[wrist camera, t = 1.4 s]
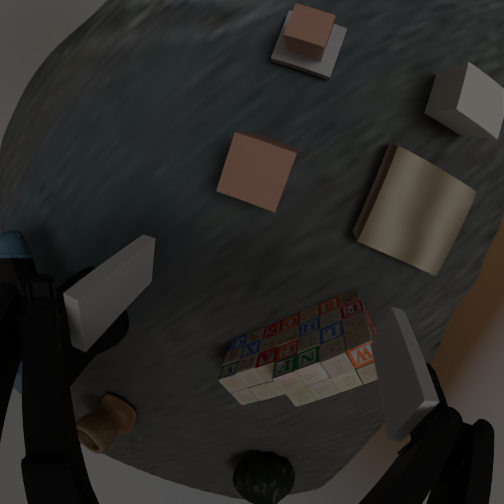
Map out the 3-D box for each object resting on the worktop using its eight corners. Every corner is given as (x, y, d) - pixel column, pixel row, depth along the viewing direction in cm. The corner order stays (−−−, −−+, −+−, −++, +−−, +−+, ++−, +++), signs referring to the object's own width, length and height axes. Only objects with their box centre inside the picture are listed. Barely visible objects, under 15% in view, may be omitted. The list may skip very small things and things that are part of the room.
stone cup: (101, 381, 60) (69, 424, 46) (143, 408, 60) (116, 454, 47) (95, 405, 66) (69, 442, 52) (131, 428, 66) (109, 468, 53)
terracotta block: (237, 177, 37) (216, 191, 29) (252, 132, 34) (234, 132, 26) (282, 194, 37) (274, 212, 28) (298, 149, 34) (296, 153, 26)
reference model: (272, 61, 30) (263, 43, 23) (290, 16, 27) (285, -11, 20) (328, 80, 30) (334, 65, 23) (345, 34, 27) (354, 10, 20)
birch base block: (352, 230, 37) (357, 241, 33) (388, 144, 32) (398, 145, 28) (425, 263, 36) (435, 276, 33) (462, 185, 31) (476, 191, 28)
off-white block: (424, 113, 29) (456, 109, 21) (436, 74, 27) (468, 61, 18) (460, 135, 29) (497, 139, 21) (471, 97, 26) (509, 93, 18)
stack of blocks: (251, 364, 48) (236, 421, 37) (231, 338, 47) (210, 394, 35) (373, 318, 41) (388, 376, 30) (358, 285, 39) (372, 341, 28)
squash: (214, 471, 58) (241, 519, 48) (242, 452, 53) (276, 507, 43) (256, 457, 67) (282, 499, 57) (287, 436, 62) (318, 483, 52)
